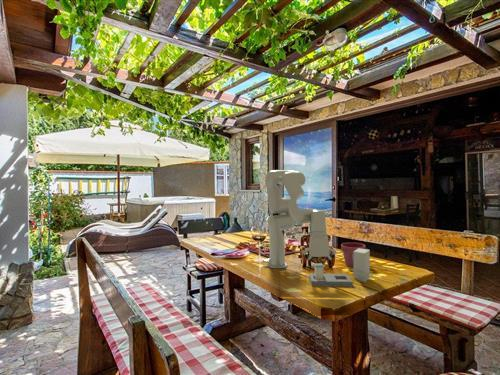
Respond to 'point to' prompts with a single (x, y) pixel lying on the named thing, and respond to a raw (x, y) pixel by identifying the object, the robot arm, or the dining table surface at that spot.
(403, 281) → the dining table surface
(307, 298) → the dining table surface
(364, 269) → the skincare box
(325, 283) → the socket panel
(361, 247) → the plant pot
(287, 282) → the dining table surface
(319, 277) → the plug
